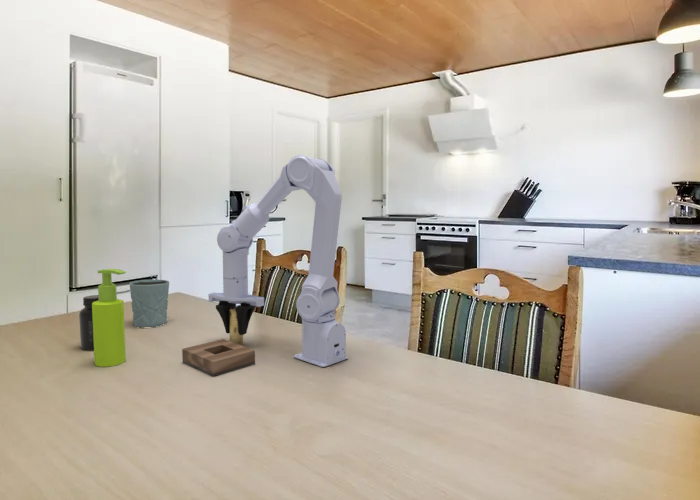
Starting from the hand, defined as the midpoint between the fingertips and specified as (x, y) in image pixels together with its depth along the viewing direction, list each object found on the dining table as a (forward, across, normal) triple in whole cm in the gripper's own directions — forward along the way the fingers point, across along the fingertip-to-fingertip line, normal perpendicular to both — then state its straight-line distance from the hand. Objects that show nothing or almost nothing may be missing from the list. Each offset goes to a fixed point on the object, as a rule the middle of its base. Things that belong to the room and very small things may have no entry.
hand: (236, 333), depth 110 cm
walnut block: (+3, -4, +12) cm, 13 cm away
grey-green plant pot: (+3, +34, -7) cm, 35 cm away
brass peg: (+3, 0, 0) cm, 3 cm away
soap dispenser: (+3, +17, +20) cm, 27 cm away
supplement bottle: (+3, +30, +14) cm, 33 cm away
